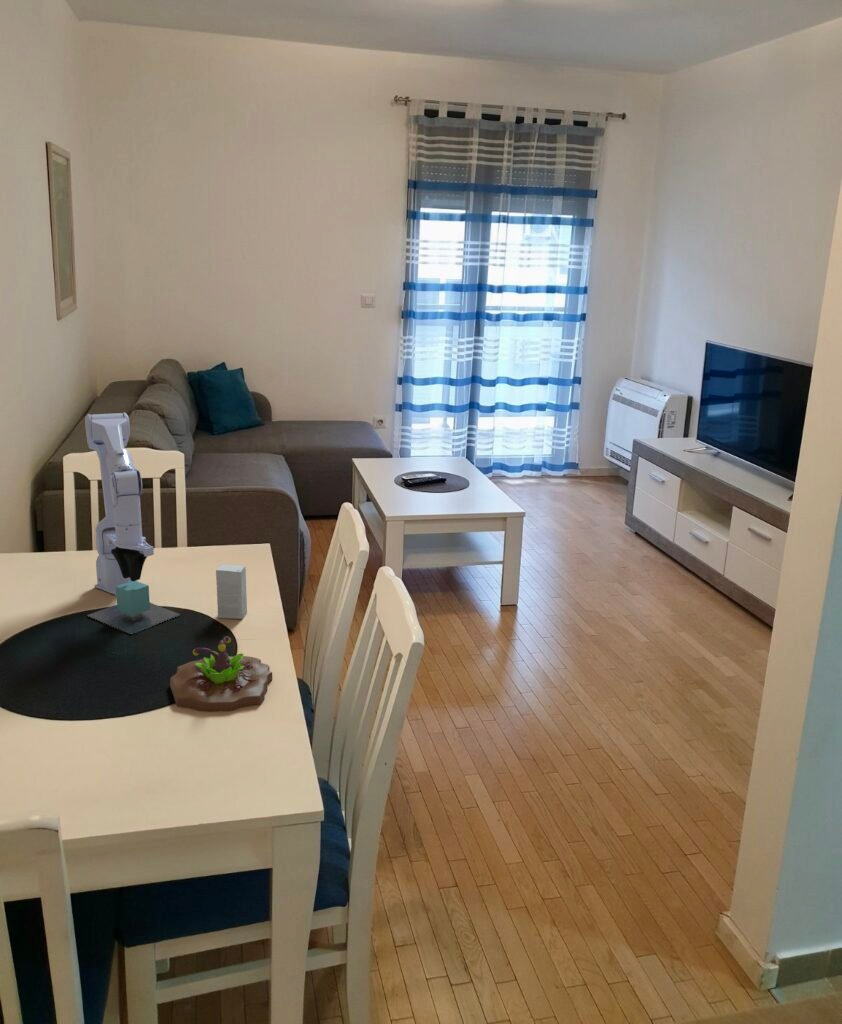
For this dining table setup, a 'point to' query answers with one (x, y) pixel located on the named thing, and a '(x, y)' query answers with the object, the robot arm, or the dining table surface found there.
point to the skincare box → (231, 591)
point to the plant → (220, 681)
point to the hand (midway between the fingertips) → (131, 578)
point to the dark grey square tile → (133, 618)
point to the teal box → (132, 598)
